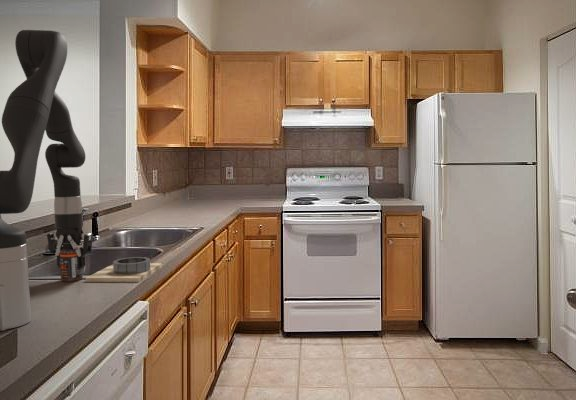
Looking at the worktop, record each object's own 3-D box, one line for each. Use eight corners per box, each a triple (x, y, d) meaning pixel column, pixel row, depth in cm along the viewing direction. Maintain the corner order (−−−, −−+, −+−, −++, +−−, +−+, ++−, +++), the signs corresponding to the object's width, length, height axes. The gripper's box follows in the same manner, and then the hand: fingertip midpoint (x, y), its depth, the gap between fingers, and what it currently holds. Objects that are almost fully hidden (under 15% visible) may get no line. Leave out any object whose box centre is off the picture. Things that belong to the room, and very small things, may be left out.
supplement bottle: (56, 281, 147) (54, 243, 147) (73, 276, 153) (71, 240, 152) (70, 283, 145) (68, 244, 144) (87, 278, 150) (85, 241, 149)
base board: (139, 281, 145) (138, 277, 145) (85, 281, 146) (85, 277, 146) (161, 266, 165) (161, 263, 165) (114, 266, 166) (114, 263, 166)
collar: (139, 274, 149) (138, 264, 148) (106, 273, 151) (106, 263, 151) (156, 266, 159) (156, 257, 159) (126, 265, 162) (125, 256, 161)
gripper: (38, 212, 145) (41, 270, 146) (82, 213, 142) (85, 271, 143) (55, 210, 152) (58, 264, 154) (97, 210, 149) (100, 266, 150)
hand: (71, 267), depth 148 cm, fingers closed on supplement bottle, 6 cm apart
